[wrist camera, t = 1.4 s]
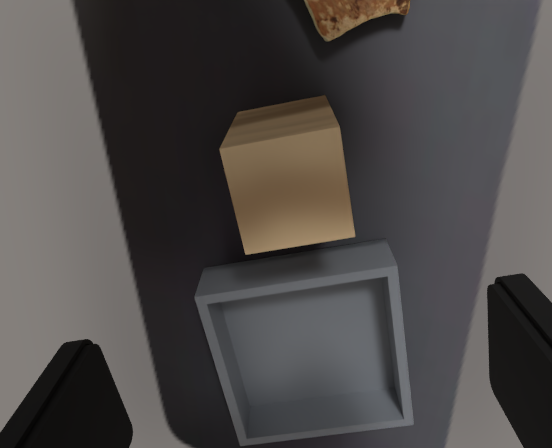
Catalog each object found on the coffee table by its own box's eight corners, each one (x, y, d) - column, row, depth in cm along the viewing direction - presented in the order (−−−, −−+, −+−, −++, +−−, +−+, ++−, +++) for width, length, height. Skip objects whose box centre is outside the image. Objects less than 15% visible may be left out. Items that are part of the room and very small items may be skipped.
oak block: (237, 112, 27) (219, 149, 20) (325, 95, 26) (339, 126, 19) (255, 193, 29) (245, 254, 22) (337, 179, 28) (355, 236, 21)
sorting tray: (203, 267, 31) (194, 297, 28) (385, 238, 30) (397, 265, 27) (244, 407, 36) (240, 446, 33) (402, 386, 35) (413, 424, 32)
